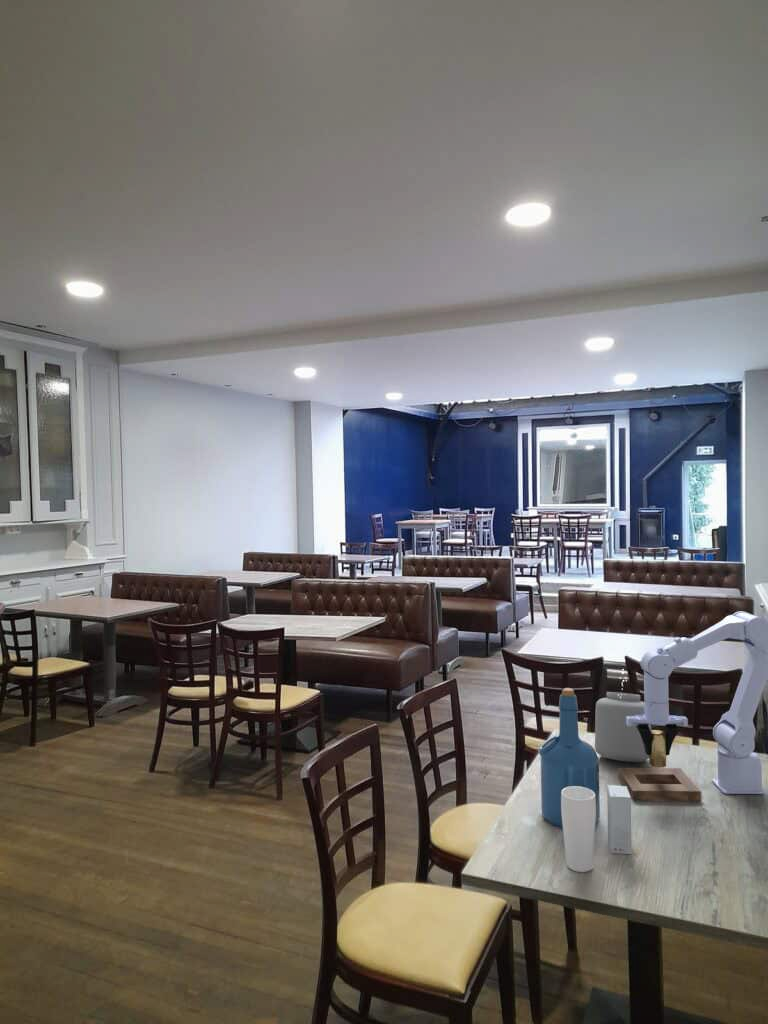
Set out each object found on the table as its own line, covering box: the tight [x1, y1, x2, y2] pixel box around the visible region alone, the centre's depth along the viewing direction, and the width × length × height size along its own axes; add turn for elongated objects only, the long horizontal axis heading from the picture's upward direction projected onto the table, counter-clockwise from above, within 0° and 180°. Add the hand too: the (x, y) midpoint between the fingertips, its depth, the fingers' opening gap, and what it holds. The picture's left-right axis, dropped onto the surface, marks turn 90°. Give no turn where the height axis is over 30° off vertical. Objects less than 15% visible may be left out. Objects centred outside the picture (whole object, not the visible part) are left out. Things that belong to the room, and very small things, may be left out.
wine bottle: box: [537, 687, 601, 829], centre depth 159 cm, size 14×13×30 cm
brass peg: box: [648, 729, 667, 768], centre depth 173 cm, size 4×4×8 cm
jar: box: [594, 668, 652, 763], centre depth 193 cm, size 19×15×25 cm
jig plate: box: [617, 767, 702, 803], centre depth 173 cm, size 16×14×2 cm
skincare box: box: [606, 784, 632, 855], centre depth 146 cm, size 6×4×12 cm
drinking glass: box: [561, 786, 597, 873], centre depth 138 cm, size 7×7×15 cm
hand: (657, 753), depth 173 cm, fingers closed on brass peg, 4 cm apart
